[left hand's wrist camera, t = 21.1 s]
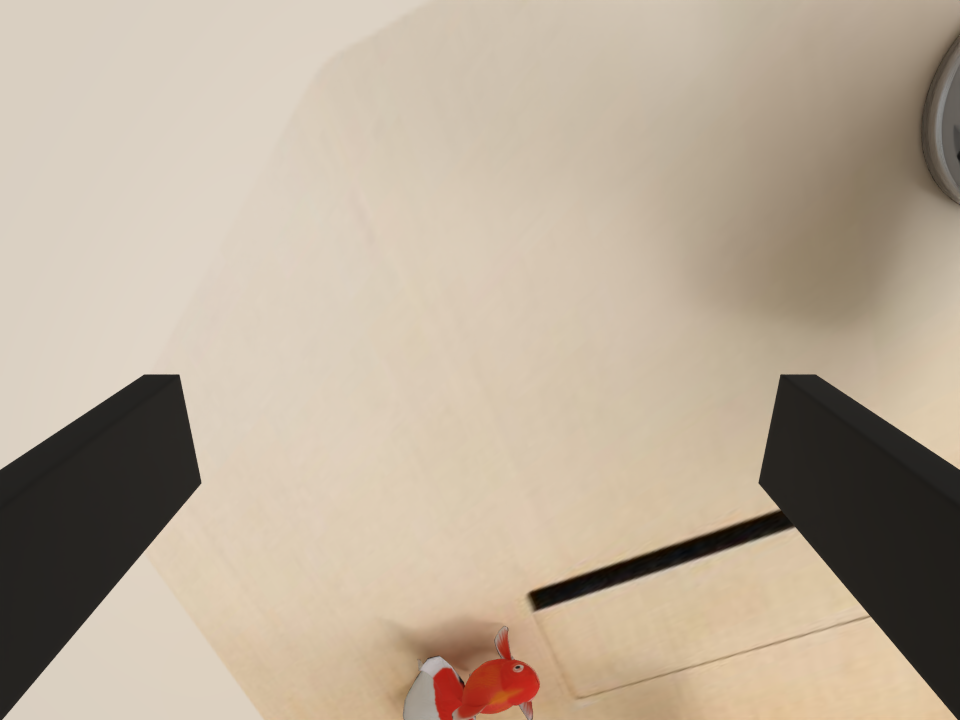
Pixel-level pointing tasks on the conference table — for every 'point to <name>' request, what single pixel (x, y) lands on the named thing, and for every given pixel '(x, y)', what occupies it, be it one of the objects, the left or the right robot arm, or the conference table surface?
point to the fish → (472, 688)
